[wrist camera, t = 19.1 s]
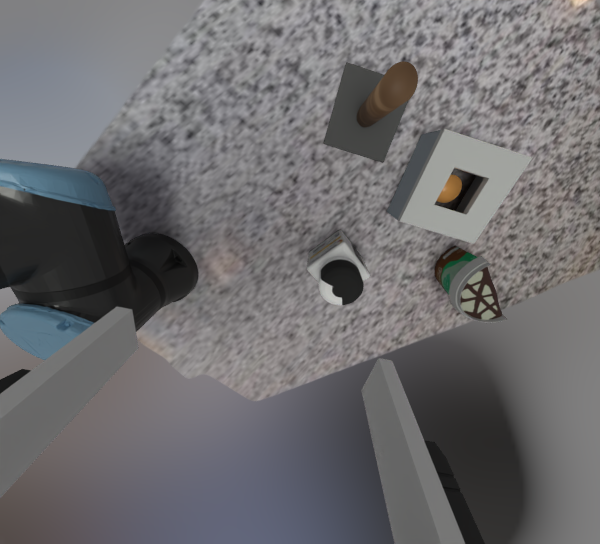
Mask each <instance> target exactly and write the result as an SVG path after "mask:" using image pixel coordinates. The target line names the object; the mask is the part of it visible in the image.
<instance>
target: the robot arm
mask: <svg viewBox="0 0 600 544" xmlns="http://www.w3.org/2000/svg"><path fill="white" fill-rule="evenodd" d="M115 211H116V210H115V207H114V206H113V205H112V203H111V200H110V198H109V195H108V192H107V190H106V187H105V184H104V183H103V181H102V180H101V179H100V178H99V177H98V176H96V175H95V174H93V173H91V172H88V171H85V170H80V169H75V168H68V167H61V166H53V165H46V164H38V163H30V162H22V161H13V160H5V159H0V289H2V288H6V287H11V289H12V290H13V292H14V294H15V295H16V297H17V299H18V301H19V304H15V305H11V306H9V307H8V308H7V310H6V311H4V312H3V313H2V314H1V315H0V328H1V330H2V331H3V333H4V334H5V335H6V336H7V337H8V338H9V339H10V340H11V341H12V342H14V343H15V344H16V345H17V346H19V347H20V348H22V349H23V350H25V351H27V352H28V353H30V354H32V355H34V356H36V357H38V358H41V359H43V360H45V361H43V362H42V363H41V364H40V365H38V366H37V367H36V368H34V369H33V370H31V371H30V370H25V369H21V370H19V371H17V372H15V373H13V374H11V375H9V376H7V377H5V378H3V379H1V380H0V498H1V497H2V495H3V494H4V493H5V492H6V491H7V490H8V489H9V488H10V487H11V486H12V485H13V483H14V482H15V481H16V480H17V479H18V478H19V477H20V476H21V475H22V474H23V473H24V472H25V471H26V469H27V468H28V467H29V466H30V465H31V464H32V463H33V462H34V460H36V458H38V456H39V455H40V454H41V453H42V452H43V451H44V450H45V449H46V448H47V446H49V445H50V443H51V442H52V441H53V440H54V439H55V438H56V437H57V436H58V434H60V433H61V431H62V430H63V429H64V428H65V427H66V426H67V425H68V424H69V423H70V422H71V421H72V420H73V419H74V417H75V416H76V415H77V414H78V413H79V412H80V411H81V410H82V409H83V408H84V407H85V405H86V404H87V403H88V402H89V401H90V400H91V399H92V398H93V397H94V396H95V395H96V394H97V393H98V391H99V390H100V389H101V388H102V387H103V386H104V385H105V384H106V383H107V382H108V381H109V379H110V378H111V377H112V376H113V375H114V374H115V373H116V372H117V371H118V370H119V369H120V367H121V366H122V365H123V364H124V363H125V362H126V361H127V360H128V359H129V358H130V357H131V356H132V354H134V352H135V351H136V350H137V349H138V342H137V336H136V331H138V330H139V329H140V328H141V327H142V326H143V325H144V324H145V323H146V322H147V321H148V320H149V319H150V318H151V317H152V316H153V315H154V314H155V313H156V312H157V311H158V310H159V309H161V308H162V307H164V306H166V305H168V304H170V303H172V302H175V301H178V300H181V299H183V298H184V297H186V296H187V295H188V294H189V293H190V292H191V291H192V290H193V289H194V287H195V285H196V283H197V280H198V271H197V266H196V264H195V261H194V259H193V258H192V256H191V255H190V253H189V252H188V251H187V250H186V249H185V248H184V247H183V246H182V245H181V244H180V243H178V242H177V241H175V240H174V239H172V238H170V237H167V236H164V235H161V234H154V233H150V234H144V235H141V236H139V237H136V238H134V239H132V240H130V241H129V242H128V243H126V245H124V242H123V239H122V236H121V232H120V229H119V225H118V222H117V218H116V214H115ZM362 395H363V399H364V404H365V409H366V413H367V418H368V423H369V427H370V432H371V436H372V441H373V446H374V450H375V455H376V460H377V464H378V469H379V473H380V478H381V482H382V487H383V492H384V497H385V501H386V506H387V510H388V515H389V520H390V524H391V529H392V533H393V538H394V543H395V544H485V543H484V541H483V539H482V537H481V535H480V532H479V530H478V528H477V525H476V523H475V521H474V520H473V517H472V514H471V512H470V510H469V508H468V506H467V503H466V501H465V499H464V497H463V494H462V493H461V492H460V488H459V486H458V483H457V481H456V479H455V478H454V476H453V472H452V470H451V468H450V466H449V463H448V461H447V459H446V457H445V456H444V454H443V453H442V452H441V450H440V449H439V447H438V446H437V445H436V443H435V442H430V441H425V440H423V437H422V434H421V432H420V429H419V427H418V424H417V422H416V419H415V417H414V414H413V412H412V409H411V407H410V404H409V402H408V400H407V397H406V394H405V392H404V390H403V387H402V384H401V382H400V379H399V377H398V375H397V372H396V369H395V367H394V364H393V362H392V361H390V360H384V359H378V361H377V362H376V365H375V366H374V368H373V370H372V372H371V374H370V375H369V377H368V379H367V381H366V383H365V385H364V387H363V388H362Z"/></svg>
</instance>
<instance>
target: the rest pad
mask: <svg viewBox="0 0 600 544" xmlns="http://www.w3.org/2000/svg"><path fill="white" fill-rule="evenodd" d="M383 76H384V75H383V74H380V73H377V72H374V71H371V70H368V69H365V68H362V67H359V66H356V65H353V64H350V63H347V62H346V65H345V69H344V73H343V76H342V80H341V83H340V87H339V90H338V94H337V97H336V101H335V105H334V108H333V112H332V115H331V119H330V122H329V126H328V129H327V133H326V137H325V140H324V144H326V145H329V146H332V147H336V148H339V149H342V150H345V151H348V152H351V153H355V154H358V155H361V156H364V157H367V158H370V159H374V160H377V161H380V162H384V159H385V157H386V154H387V152H388V150H389V147H390V145H391V142H392V140H393V137H394V135H395V132H396V130H397V127H398V125H399V122H400V120H401V117H402V115H403V112H404V110H405V107H406V105H407V103H408V101H406V102H405V103H404V104H402V105H401V106H399V107H398V108H396V109H395V110H393V111H392V112H390V113H389V114H387V115H386V116H385V117H383V118H382V119H380V120H379V121H377V122H376V123H374V124H373V125H371V126H370V127H362V126H360V125H359V124H358V122H357V112H358V110H359V108H360V107H361V105H362V104H363V103H364V102H365V100H366V99H367V98H368V96H369V95H370V94H371V92H372V91H373V90H374V88H375V87H376V86H377V84H378V83H379V82H380V80H381V79H382V78H383Z"/></svg>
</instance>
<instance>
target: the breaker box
mask: <svg viewBox="0 0 600 544" xmlns="http://www.w3.org/2000/svg"><path fill="white" fill-rule="evenodd" d="M531 159H532V157H529V156H526V155H523V154H520V153H517V152H514V151H511V150H508V149H505V148H502V147H498V146H495V145H492V144H489V143H486V142H483V141H480V140H477V139H474V138H471V137H468V136H465V135H462V134H459V133H456V132H453V131H450V130H447V129H442V130H439V131H435V132H431V133H427V134H423V135H421V137H420V140H419V142H418V144H417V146H416V148H415V151H414V153H413V155H412V157H411V159H410V162H409V164H408V166H407V168H406V170H405V173H404V175H403V177H402V179H401V181H400V184H399V186H398V188H397V190H396V193H395V195H394V197H393V199H392V201H391V204H390V206H389V208H388V210H387V212H388V213H389V214H391V215H392V216H393V217H395V218H396V219H397V220H398V221H400V222H403V223H407V224H410V225H413V226H417V227H420V228H423V229H427V230H430V231H433V232H437V233H440V234H443V235H447V236H450V237H453V238H456V239H460V240H463V241H466V242H470V243H473V244H474V243H475V241H476V240H477V239H478V237H479V236H480V234H481V233H482V231H483V230H484V228H485V227H486V225H487V224H488V222H489V221H490V219H491V218H492V217H493V215H494V214H495V212H496V211H497V209H498V208H499V206H500V205H501V203H502V202H503V200H504V199H505V197H506V196H507V195H508V193H509V192H510V190H511V189H512V187H513V186H514V184H515V183H516V181H517V180H518V178H519V177H520V175H521V174H522V173H523V171H524V170H525V168H526V167H527V165H528V164H529V162H530V161H531ZM454 168H455V169H458V170H461V171H464V172H467V173H471V174H474V175H477V176H476V177H475V179H474V181H473V182H472V184H471V186H470V187H469V189H468V191H467V192H466V194H465V196H464V197H463V199H462V201H461V202H460V204H459V206H458V207H457V209H456V211H453V210H450V209H447V208H444V207H441V206H437V205H434V204H435V202H436V201H437V199H438V197H439V195H440V193H441V191H442V190H443V188H444V186H445V184H446V182H447V180H448V179H449V177H450V175H451V173H452V171H453V169H454Z"/></svg>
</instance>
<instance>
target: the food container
mask: <svg viewBox="0 0 600 544" xmlns="http://www.w3.org/2000/svg"><path fill="white" fill-rule="evenodd" d="M489 265H491V264H490V263H488V261H487V260H486V259H484V258H483V257H482V256H480V257H476V256H474V255H472V254H470V253H468V252H466V251H464V250H462V249H460V248H458V247H456V246H454V247H452V248H450V249H448V250H447V251H446V252H445V253H444V254H442V255H441V257H440V258H439V260H438V261H437V263H436V266H435V277H436V279H437V280H438V282H439V283H440V284H441V285H442V287H443V288H444V289H445V290H446V292H447V293H448V294H449V299H450V302H451V304H452V306H453V307H454V308H455V309H456V310H457V311H458V312H459V313H461V314H463V315H464V316H466V317H468V318H470V319H473V320H475V321H479V322H487V323H491V322H499V321H504V320H507V318H506V317H505V316H503V315H502V312H501V310H500V307H499V303H498V298H497V293H496V290H495V288H494V285H493V283H492V280H491V277H490V274H489V271H488V267H487V266H489Z"/></svg>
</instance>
